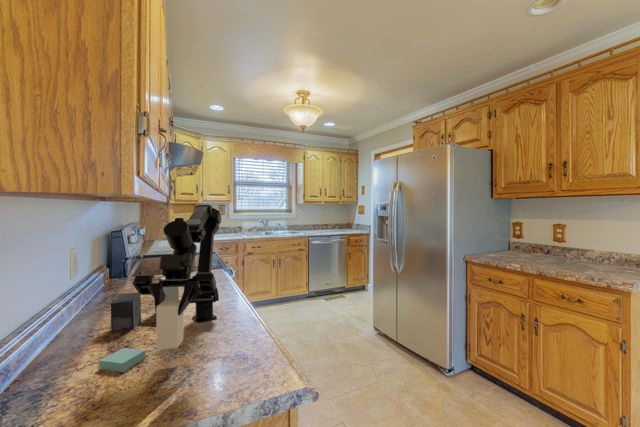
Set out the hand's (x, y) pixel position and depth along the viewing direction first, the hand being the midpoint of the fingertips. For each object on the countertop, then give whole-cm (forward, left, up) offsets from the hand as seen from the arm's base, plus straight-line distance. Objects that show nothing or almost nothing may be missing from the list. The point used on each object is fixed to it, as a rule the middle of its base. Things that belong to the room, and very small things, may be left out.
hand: (168, 315), depth 70 cm
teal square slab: (-8, -8, -12) cm, 17 cm away
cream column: (-1, +1, -8) cm, 8 cm away
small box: (-37, -3, -14) cm, 39 cm away
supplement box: (-44, +11, -14) cm, 47 cm away
